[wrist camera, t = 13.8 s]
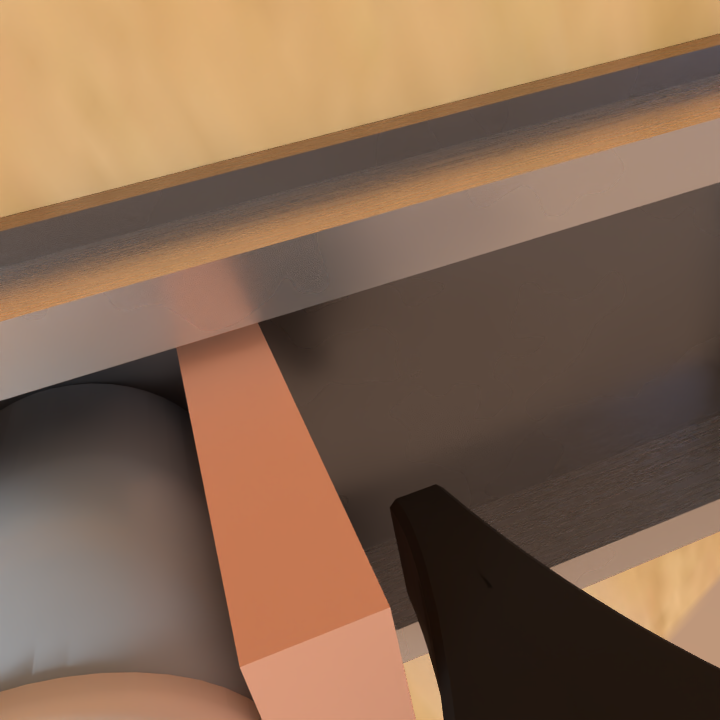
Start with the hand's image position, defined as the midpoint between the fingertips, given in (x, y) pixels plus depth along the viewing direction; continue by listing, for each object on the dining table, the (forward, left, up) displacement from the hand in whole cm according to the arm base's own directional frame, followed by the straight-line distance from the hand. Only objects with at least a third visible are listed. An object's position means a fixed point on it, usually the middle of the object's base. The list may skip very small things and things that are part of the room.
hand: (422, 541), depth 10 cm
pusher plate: (+2, 0, -3) cm, 4 cm away
